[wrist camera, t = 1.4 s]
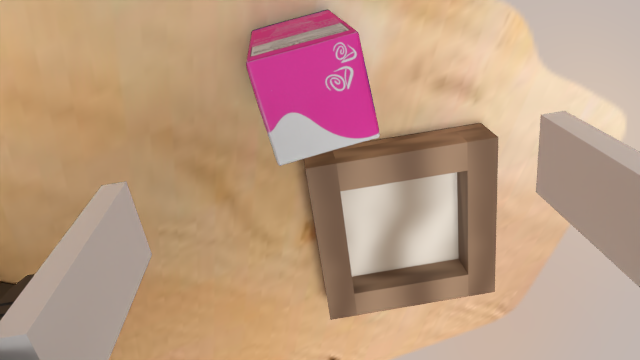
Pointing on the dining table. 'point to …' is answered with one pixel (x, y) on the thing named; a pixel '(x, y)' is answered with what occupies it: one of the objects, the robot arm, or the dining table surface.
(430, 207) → the socket block
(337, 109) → the supplement box
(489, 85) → the dining table surface
